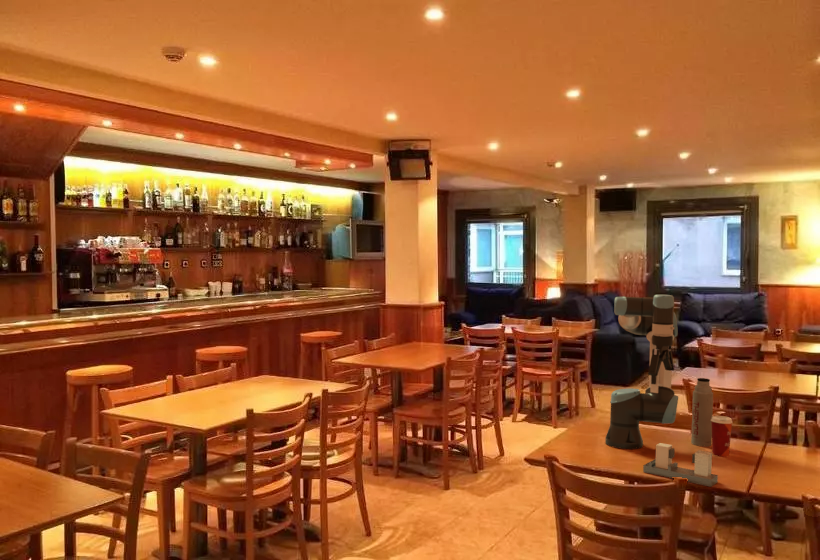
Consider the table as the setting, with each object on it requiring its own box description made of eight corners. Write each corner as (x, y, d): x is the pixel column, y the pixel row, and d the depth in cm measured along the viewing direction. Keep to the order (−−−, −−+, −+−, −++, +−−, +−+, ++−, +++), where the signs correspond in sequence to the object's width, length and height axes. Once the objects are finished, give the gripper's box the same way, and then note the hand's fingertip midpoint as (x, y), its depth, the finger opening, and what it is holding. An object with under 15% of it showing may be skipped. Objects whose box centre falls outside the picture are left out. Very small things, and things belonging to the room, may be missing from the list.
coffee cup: (734, 458, 276) (735, 420, 276) (711, 456, 278) (713, 419, 277) (728, 452, 285) (730, 415, 284) (707, 450, 286) (708, 414, 286)
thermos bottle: (697, 446, 292) (699, 380, 292) (687, 441, 300) (689, 377, 299) (715, 446, 293) (717, 380, 292) (705, 441, 301) (707, 377, 300)
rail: (643, 472, 256) (644, 443, 256) (650, 467, 262) (651, 440, 261) (711, 486, 241) (712, 456, 241) (717, 482, 246) (718, 452, 246)
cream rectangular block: (655, 466, 255) (656, 445, 255) (659, 464, 258) (660, 442, 258) (670, 469, 252) (671, 447, 251) (674, 467, 255) (675, 445, 254)
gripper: (660, 339, 256) (658, 396, 257) (683, 332, 275) (682, 386, 276) (640, 337, 261) (638, 393, 262) (664, 331, 280) (663, 383, 281)
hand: (660, 389), depth 269 cm, fingers open, 13 cm apart
